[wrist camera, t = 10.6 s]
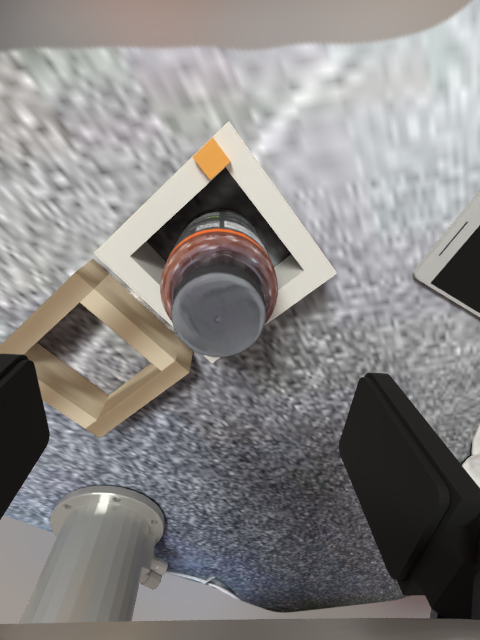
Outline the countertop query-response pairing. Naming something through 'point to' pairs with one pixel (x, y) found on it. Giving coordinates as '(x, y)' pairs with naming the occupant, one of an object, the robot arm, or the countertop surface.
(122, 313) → the block
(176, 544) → the countertop surface
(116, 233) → the socket block
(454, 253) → the smartphone
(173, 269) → the supplement bottle
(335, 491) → the countertop surface
